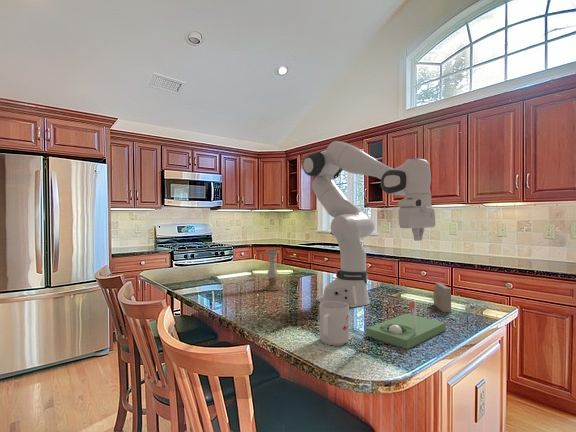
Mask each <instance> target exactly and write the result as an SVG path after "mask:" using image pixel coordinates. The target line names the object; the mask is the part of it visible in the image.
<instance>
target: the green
mask: <svg viewBox="0 0 576 432" xmlns="http://www.w3.org/2000/svg"><path fill="white" fill-rule="evenodd" d="M408 309H409V311H410V310H412V313H413V314H410V313H403V314H401V315H399V316H395V317H393V318H390V319H387V320H386V321H382V322H380V323H379V322H378V323H377V324H374V325H371V326H368V327H366V337H368V336H369V338H371V337H372V339H375V340H379V341H380V342H384V343H387V344H390V345H393V346H396V347H399V348H403V349H405V350H410V349H411V348H413V347H415V346H417V345H419V344H421V343H423V342H425V341H427V340H429V339H431V338H433V337H435V336H437V335H439V334H441V333H442V332H445V331H446V322H443V321H439V320H435V319H430V318H427V317H423V316H418V315H417V301H416V300H413V301H410V302H408ZM392 325H398V326H399V327H400V328H401V329H402V333H395V332H391V331H389V328H390V326H392Z"/></svg>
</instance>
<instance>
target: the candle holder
mask: <svg viewBox="0 0 576 432" xmlns="http://www.w3.org/2000/svg"><path fill="white" fill-rule="evenodd" d="M280 251H281V250H277V249H267V250H265V253H266V254H268V257H269V260H268V262H269V268H268V270H267V277H268V279H267V281H268V284H266V285H265V286H264V287H263V288H264V291H266V290H268V292H277V291H276V290H278V291H281V290H282V287H281V286H280V284H278V283H277V281H278V279H277V277H278V270H277V268H276V262H277V259H276V257H277V254H279V253H280ZM280 289H281V290H280Z"/></svg>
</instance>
